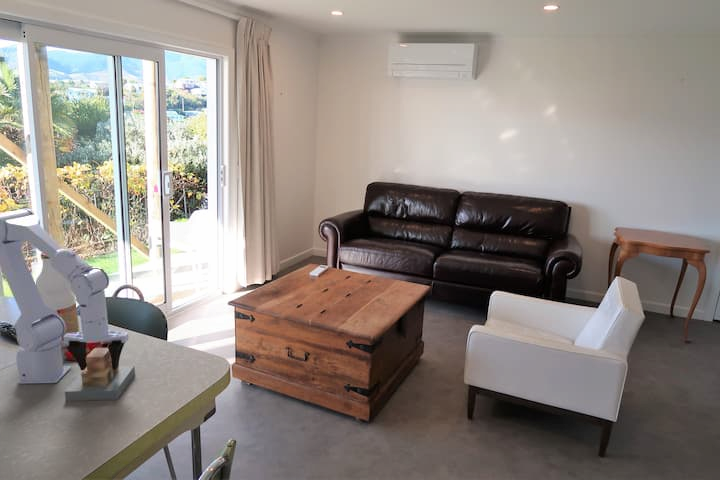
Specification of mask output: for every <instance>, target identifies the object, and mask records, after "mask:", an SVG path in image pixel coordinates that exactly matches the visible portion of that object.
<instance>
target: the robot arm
mask: <svg viewBox="0 0 720 480" xmlns="http://www.w3.org/2000/svg"><path fill="white" fill-rule="evenodd" d="M25 242H27V243H28V244H30V245H31V246H33V247H34V248H35V249H37V250H38V251H39V252H41V253H44V254H45V255H46V256H48V257H49V258H50V259H51V266H52V267H53V268H54V269H55V270H56V271H57V272H58V273H60V274H61V275H62V276H63V277H64V278H65V279H67V280H68V281H69V282H70V283H71V285H70V288H71V290H72V292H73V293H74V295H75V299H76V304H78V307H79V315H80V326H81V331H79V332H76V333H67V334H66V335H65V336H64V344H68V343H69V346H67V348H66V350H68V351H69V352H70V353H71V354H72V355H73V356H74V358H75V359H76V360H75V361H76V363H77V364H78V366H79V369H80V371H84V370H85V368H86V367H87V364H86V357H87V356H86V342H87V343H95V342H112V344H110V345H109V346H108V347H107V348H108V350H109V352H110V355H111V360H112V369H113V370H116V369H117V368H118V366H120V359H121V354H122V350H123V348H124V346H125V344H126V343H127V342H128V341H129V332H123V331H117V330H110V329H109V320H108V309H107V301H106V292H105V290H106V289H107V288H108V287H109V285H110V279H109V276H108V274H107V272H106V271H105V270H104V269H103V268H102V267H99V266H93V265H90V264H89V263H87V262H86V261H85V260H84V259H83V258H82V257H80V255H78V254H77V252H76V251H74V250H72V249H70V248H69V249H68V248H66V249H65V248H63V247H61V246H60V244H58V242H57V241H56V240H55V239H54V238H52V236H51V235H50V234H49V233H48V232H47V231H46V230H45V229H44V228H43V227H42V226H41V221H40V217H39V216H38V215H36V214H35V213H34V212H33V211H32V210H31V209H29V208H27V207H23V208H20V209H16V210H11V211H4V212H0V269H1V272H2V273H3V276H4V278H5V280H6V283H7V285H8V286H9V289H10V291H11V292H10V293H11V294H12V296H13V298H14V301H15V302H16V306H17V308H18V310H19V312H20V315H19V317H18V319H16V321H15V323H14V324H13V325H14V326H13V327H14V329H15V332H16V340H17V343H18V345H19V348H18V350H17V354H16V367H17V372H18V377H19V380H18V381H17V383H18V384H19V385H23V384H24V385H26V384H56V383H58V382H59V381H60V380H61V379H62V378H63V377H64V376H65V375H66V373H68V371H70V369H72V367H71V366H70V365H65V366H64V361H63V360H64V359H63V355H62V354H63V352H62V348H61V345H60V341H61V340H62V336H63V335H64V334H65V332H66V324H65V322H64V320H63V319H62V318H61V317H60V316H59V314H58V313H57V310H56V309H54V308H51V307H47V306H45V304H44V302H43V300H42V297H41V295H40V293H39V291H38V288H37V286H36V280H35V279H34V276H33V275H32V272H31V270H30V268H29V265H28V263H27V261H26V259H25V257H24V254H23V252H22V247H23V244H24V243H25ZM41 318H44V319H42V320H40V319H41Z"/></svg>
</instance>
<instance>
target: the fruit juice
mask: <svg viewBox="0 0 720 480" xmlns="http://www.w3.org/2000/svg"><path fill="white" fill-rule="evenodd" d="M40 259H41V261H42V268H41V272H40V273H39V275H38V276H37V278H36V280H35V284H36V286H37V288H38V291H39V293H40V295H41V297H42V300H43V302H44V304H45V306H47V307H51V308H54V309H56V310H57V313H58V314H59V316H60V317H61V318H62V319H63V320H64V322H65V324H66V332H65V334H64V335H63V336H62V340H61V341H60V345H61V349H63V348H66V347H68V346H69V343H68V344H64V336H65V335H66V334H67V333H76V332H80V325H79V318H78V316H79V315H78V308H77V301H76V297H75V295H74V293H73V292H72V290H71V288H70V285H71V283H70V282H69V281H68V280H67V279H65V278H64V277H63V276H62V275H61V274H60V273H58V272H57V271H56V270H55V269H54V268H53V267H52V266H51V259H50V258H49V257H48V256H46V255H45V254H44V253H42V252H41V253H40ZM42 319H44V318H41V319H39V321H40V320H42Z"/></svg>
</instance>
